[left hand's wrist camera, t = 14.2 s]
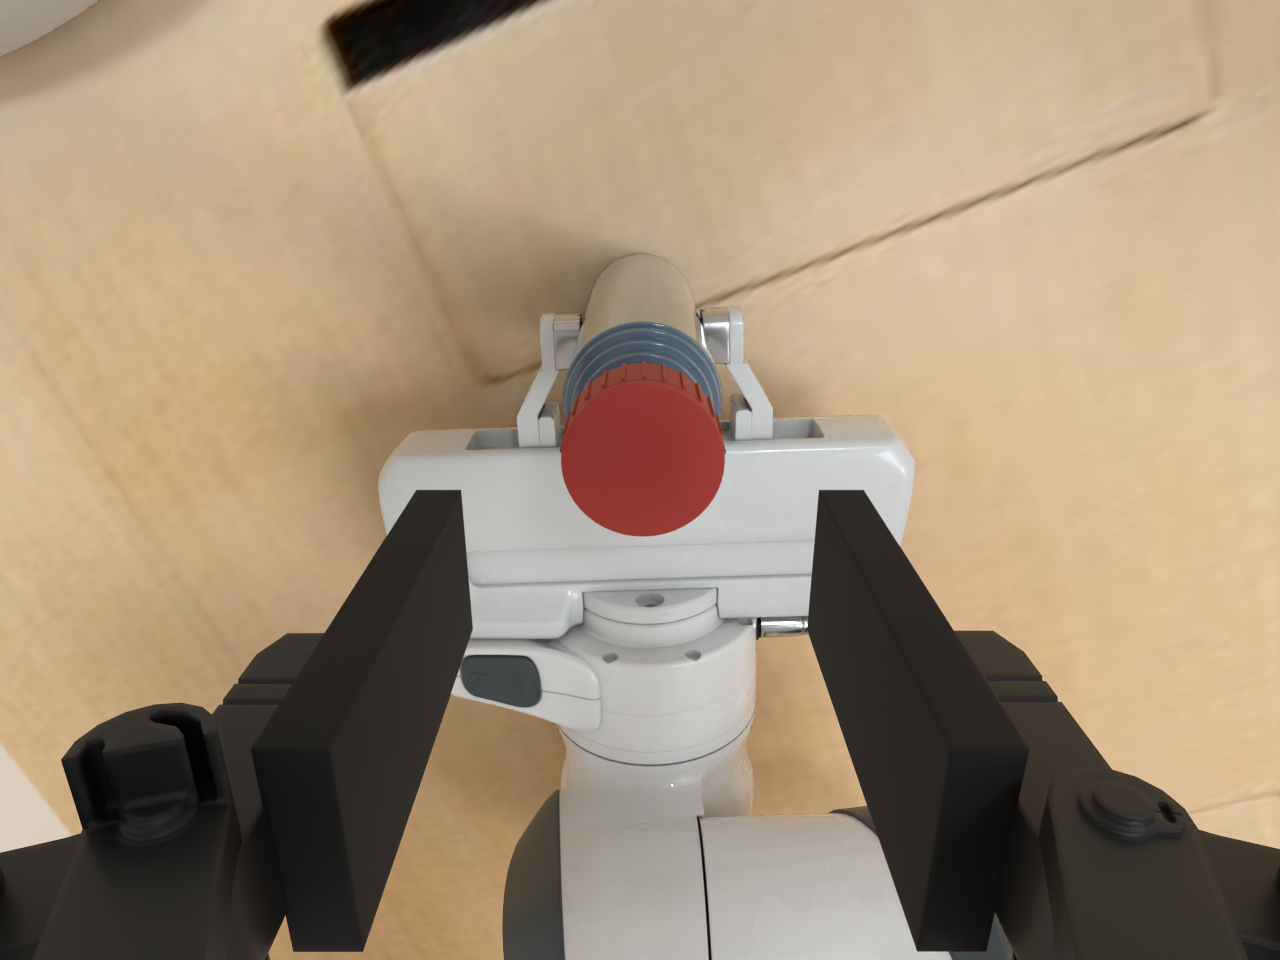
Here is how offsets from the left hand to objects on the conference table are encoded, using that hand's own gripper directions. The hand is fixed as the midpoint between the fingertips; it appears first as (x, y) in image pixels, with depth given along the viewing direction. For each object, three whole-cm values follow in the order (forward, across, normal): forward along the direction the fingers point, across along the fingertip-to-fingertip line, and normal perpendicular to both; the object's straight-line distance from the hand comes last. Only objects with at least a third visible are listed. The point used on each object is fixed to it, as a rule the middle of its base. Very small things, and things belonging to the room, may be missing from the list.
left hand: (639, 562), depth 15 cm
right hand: (+18, 0, -1) cm, 18 cm away
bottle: (+24, 0, 0) cm, 24 cm away
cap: (+5, 0, 0) cm, 5 cm away
